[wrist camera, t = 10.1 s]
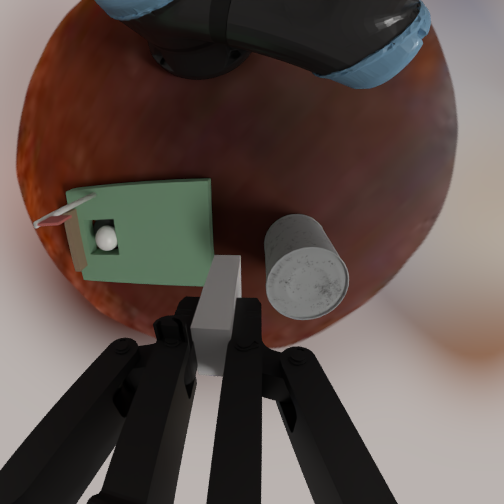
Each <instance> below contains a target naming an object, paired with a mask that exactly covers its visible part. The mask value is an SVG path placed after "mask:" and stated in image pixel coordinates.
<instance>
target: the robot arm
mask: <svg viewBox="0 0 504 504" xmlns="http://www.w3.org/2000/svg"><path fill="white" fill-rule="evenodd" d="M95 1H96V3H97V4H98V5H99V6H100V7H101V8H102V9H103V10H104V11H105V12H106V13H107V15H109V16H110V17H111V18H114V19H117V20H119V21H120V22H122V23H123V24H125V25H126V26H128V27H129V28H131V29H132V30H134V31H135V32H137V33H138V34H140V35H141V36H142V37H144V38H145V39H147V40H148V44H149V49H150V52H151V54H152V56H153V58H154V59H155V60H156V62H157V63H158V64H159V65H160V66H161V67H163V68H164V69H165V70H167V71H168V72H170V73H172V74H174V75H176V76H178V77H182V78H186V79H193V80H201V79H209V78H214V77H218V76H220V75H223V74H225V73H228V72H230V71H231V70H233V69H235V68H236V67H238V66H239V65H240V64H241V63H242V62H244V61H245V60H246V58H247V57H248V56H249V55H250V53H251V52H254V53H258V54H261V55H265V56H268V57H271V58H274V59H278V60H281V61H284V62H287V63H289V64H292V65H295V66H298V67H301V68H303V69H306V70H309V71H311V72H312V73H313V74H314V75H315V76H317V77H320V78H327V79H331V80H334V81H336V82H339V83H341V84H343V85H346V86H348V87H351V88H355V89H364V88H365V89H369V88H373V87H376V86H379V85H381V84H383V83H385V82H386V81H388V80H390V79H391V78H392V77H394V76H395V75H396V74H398V73H399V72H400V71H401V70H402V69H403V68H404V67H405V66H406V65H407V64H408V63H409V62H410V61H411V60H412V59H413V58H414V56H415V55H416V54H417V52H418V51H419V49H420V48H421V46H422V44H423V42H422V40H421V39H422V38H423V37H425V36H426V35H427V34H428V32H429V29H430V24H431V19H430V13H429V11H428V9H427V8H426V7H425V5H424V4H423V2H422V1H421V0H95ZM153 327H154V330H155V334H156V338H157V341H156V343H154V344H150V345H143V346H138V344H137V343H136V341H134V340H133V339H131V338H120V339H117V340H115V341H114V342H112V343H111V344H110V345H109V346H108V347H107V348H106V349H105V350H104V351H103V352H102V353H101V355H100V356H99V357H98V358H97V359H96V360H95V361H94V362H93V363H92V364H91V365H90V366H89V367H88V369H87V370H86V371H85V372H84V373H83V374H82V375H81V376H80V377H79V378H78V379H77V381H76V382H75V383H74V384H73V385H72V386H71V387H70V388H69V389H68V391H67V392H66V393H65V394H64V395H63V396H62V397H61V398H60V400H59V401H58V402H57V403H56V404H55V405H54V406H53V407H52V409H51V410H50V411H49V412H48V413H47V414H46V416H45V417H44V418H43V419H42V420H41V422H40V423H39V424H38V425H37V426H36V427H35V429H34V430H33V431H32V432H31V433H30V435H29V436H28V437H27V438H26V439H25V440H24V442H23V443H22V444H21V445H20V447H19V448H18V449H17V450H16V451H15V453H14V454H13V455H12V456H11V458H10V459H9V460H8V461H7V463H6V464H5V465H4V467H3V468H2V469H1V470H0V504H76V503H77V502H78V500H79V499H80V497H81V496H82V494H83V493H84V491H85V490H86V488H87V487H88V485H89V484H90V483H91V481H92V480H93V478H94V477H95V475H96V473H97V472H98V471H99V469H100V468H101V466H102V465H103V463H104V462H105V460H106V459H107V457H108V456H109V454H110V453H111V451H112V450H113V449H114V447H115V446H116V447H115V450H114V453H113V456H112V459H111V462H110V465H109V468H108V471H107V474H106V477H105V481H104V484H103V487H102V490H101V491H100V492H99V494H96V495H94V496H92V497H91V498H90V499H89V500H88V502H87V504H174V498H175V492H176V486H177V480H178V475H179V470H180V465H181V459H182V454H183V449H184V444H185V438H186V434H187V428H188V423H189V419H190V414H191V408H192V404H193V399H194V395H195V390H196V385H197V382H196V371H197V369H198V374H199V375H209V376H223V380H222V387H221V394H220V402H219V409H218V417H217V424H216V432H215V439H214V447H213V455H212V463H211V471H210V479H209V486H208V495H207V504H261V465H262V463H261V462H262V460H261V459H262V397H264V398H268V399H272V400H276V403H277V406H278V409H279V412H280V414H281V417H282V420H283V422H284V425H285V428H286V431H287V433H288V436H289V439H290V441H291V444H292V446H293V449H294V452H295V454H296V457H297V460H298V462H299V465H300V467H301V470H302V473H303V475H304V478H305V480H306V483H307V485H308V488H309V490H310V493H311V495H312V498H313V500H314V503H315V504H398V503H397V502H396V500H395V498H394V496H393V494H392V493H391V491H390V489H389V487H388V485H387V484H386V482H385V480H384V478H383V476H382V475H381V473H380V471H379V469H378V467H377V466H376V464H375V462H374V460H373V459H372V457H371V455H370V453H369V451H368V449H367V448H366V446H365V444H364V442H363V440H362V439H361V437H360V435H359V433H358V431H357V430H356V428H355V426H354V424H353V423H352V421H351V419H350V417H349V415H348V413H347V412H346V410H345V408H344V406H343V405H342V403H341V401H340V399H339V398H338V396H337V394H336V392H335V390H334V389H333V387H332V385H331V383H330V382H329V380H328V378H327V376H326V374H325V373H324V371H323V369H322V367H321V366H320V364H319V362H318V360H317V358H316V357H315V355H314V354H313V353H312V351H310V350H309V349H307V348H303V347H299V346H298V347H290V348H287V349H286V350H284V351H283V352H277V351H274V350H271V349H269V348H268V347H266V346H265V345H264V343H263V342H262V336H261V303H260V302H259V300H258V299H257V298H241V255H214V258H213V261H212V264H211V267H210V270H209V273H208V276H207V279H206V282H205V285H204V288H203V291H202V294H201V297H185V298H184V299H183V300H181V301H180V302H179V305H178V307H177V310H176V312H175V315H172V316H164V317H161V318H159V319H158V320H156V321H155V322H154V324H153Z"/></svg>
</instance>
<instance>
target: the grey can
mask: <svg viewBox="0 0 504 504" xmlns="http://www.w3.org/2000/svg"><path fill="white" fill-rule="evenodd" d="M264 250H265V261H266V294H267V296H268V299H269V302H270V303H271V304H272V306H273V307H274V308H275V309H276V310H277V311H278V312H279V313H281V314H283V315H284V316H286V317H289V318H293V319H298V320H309V319H315V318H318V317H321V316H323V315H325V314H327V313H329V312H331V311H332V310H333V309H335V308H336V307H337V306H338V305H339V304H340V302H341V301H342V300H343V298H344V296H345V295H346V292H347V289H348V285H349V275H348V270H347V268H346V265H345V263H344V262H343V261H342V259H341V258H340V257H339V255H338V253H337V252H336V250H335V248H334V247H333V245H332V243H331V242H330V240H329V239H328V237H327V235H326V234H325V232H324V230H323V228H322V226H321V225H320V224H319V223H318V222H317V221H316V220H314V219H313V218H311V217H309V216H306V215H301V214H291V215H287V216H284V217H282V218H280V219H278V220H277V221H276V222H275V223H273V224H272V225H271V227H270V228H269V230H268V231H267V234H266V236H265V241H264Z"/></svg>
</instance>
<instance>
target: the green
mask: <svg viewBox="0 0 504 504" xmlns="http://www.w3.org/2000/svg"><path fill="white" fill-rule="evenodd" d="M66 197H67V204H68V205H66V206H64V207H62V208H60V209H58V210H56V211H54V212H52V213H50V214H48V215H46V216H44V217H42V218H41V219H39V220H37V221H35V222H34V223H33V225H34V228H38V227H40V226H51V225H60V224H61V223H63V222H64V224H65V229H66V234H67V238H68V243H69V247H70V252H71V256H72V260H73V264H74V267H75V271H80V272H81V271H82V274H83V278H84V280H93V281H107V282H123V283H140V284H159V285H182V286H204V285H205V282H206V279H207V276H208V273H209V270H210V267H211V264H212V261H213V258H214V248H213V228H212V204H211V178H202V179H175V180H157V181H142V182H129V183H117V184H107V185H97V186H88V187H80V188H74V189H71V190H69V191H66ZM61 214H63V216H59V215H61ZM92 220H96V222H95V225H94V228H93V223H92ZM103 226H112V227H114V228H115V232H116V238H117V243H118V244H117V246H118V249H112V250H109V251H105V250H102V249H97V244H96V240H95V237H96V233H97V231H98V230H99V229H100V228H101V227H103ZM117 246H116V247H117ZM116 247H115V248H116Z"/></svg>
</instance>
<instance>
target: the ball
mask: <svg viewBox="0 0 504 504" xmlns="http://www.w3.org/2000/svg"><path fill="white" fill-rule="evenodd" d="M95 240H96V244H97V246H98V247H99V248H100V249H102V250H105V251H109V250H112V249H114V248H115V247H116V246H117V244H118V243H117V238H116V232H115V228H114V227H112V226H103V227H101V228H100V229H99V230H98V231H97V233H96V237H95Z"/></svg>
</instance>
